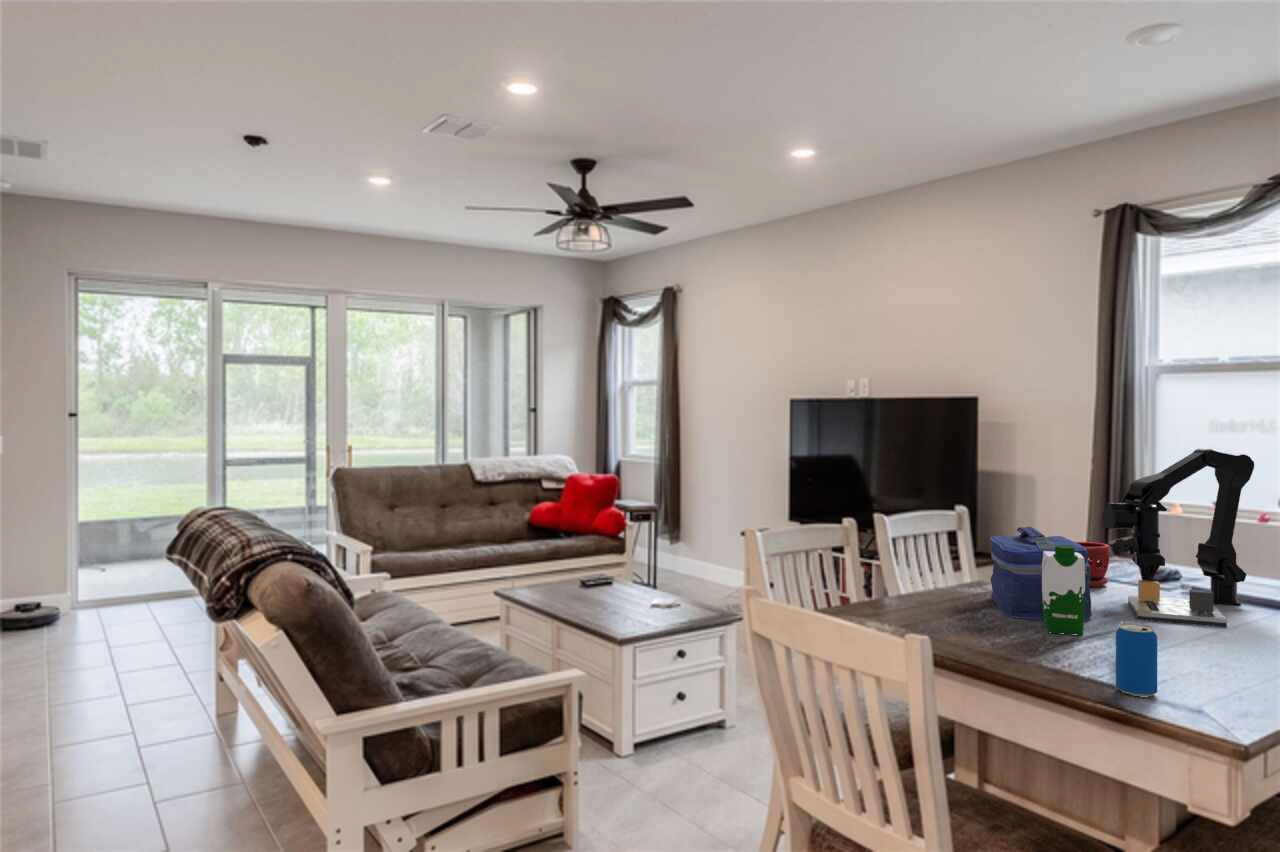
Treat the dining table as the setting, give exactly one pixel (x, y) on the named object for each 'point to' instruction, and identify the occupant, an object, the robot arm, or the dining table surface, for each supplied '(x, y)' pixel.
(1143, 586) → the orange fader
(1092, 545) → the plant pot
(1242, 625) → the dining table surface
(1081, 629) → the milk carton
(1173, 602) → the panel
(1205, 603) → the black fader
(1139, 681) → the beverage can
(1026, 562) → the lunch bag
